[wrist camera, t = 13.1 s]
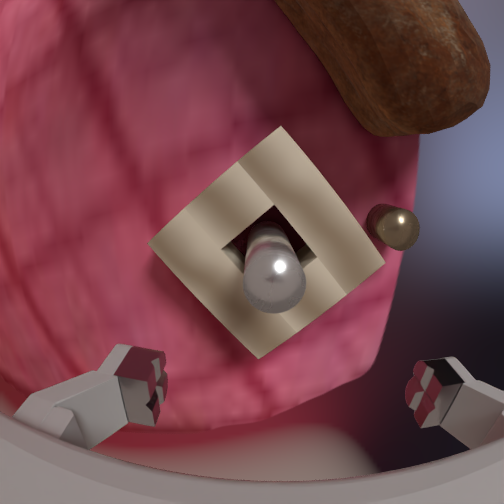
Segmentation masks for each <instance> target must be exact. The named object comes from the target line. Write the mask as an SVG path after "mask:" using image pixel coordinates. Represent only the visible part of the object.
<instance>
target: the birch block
mask: <svg viewBox="0 0 504 504" xmlns="http://www.w3.org/2000/svg"><path fill="white" fill-rule="evenodd" d="M273 205H275V206H276V207H277V208H278V210H279V211H280V212H281V213H282V214H283V216H284V217H285V218H286V219H287V220H288V222H289V223H290V224H291V225H292V226H293V228H294V229H295V230H296V231H297V233H298V234H299V235H300V236H301V237H302V239H303V240H304V241H305V242H306V245H304V246H303V247H302V248H301V249H299V250H298V251H297V252H296V253H295V254H296V256H297V258H298V260H299V262H300V264H301V267H302V269H303V271H304V273H305V276H306V290H305V293H304V295H303V297H302V299H301V300H300V302H299V303H298V304H297V305H296V306H294V307H293V308H292V309H290V310H288V311H285V312H282V313H276V314H272V313H266V312H262V311H260V310H258V309H256V308H255V307H253V306H252V305H251V304H250V303H249V301H248V300H247V298H246V296H245V294H244V291H243V276H244V268H245V259H246V258H245V257H244V256H243V254H242V253H241V252H240V251H239V250H238V249H237V248H236V247H235V245H234V244H233V243H232V242H231V240H233V239H234V238H235V237H236V236H237V235H238V234H240V233H241V232H242V231H243V230H244V229H246V228H247V227H248V226H249V225H250V224H252V223H253V222H254V221H255V220H256V219H257V218H259V217H260V216H261V215H262V214H263V213H265V212H266V211H267V210H268V209H269V208H271V207H272V206H273ZM147 244H148V245H149V246H150V247H151V248H152V249H153V251H154V252H155V253H156V254H157V255H158V256H159V257H160V258H161V260H162V261H163V262H164V263H165V264H166V265H167V266H168V267H169V268H170V269H171V271H172V272H173V273H174V274H175V275H176V276H177V277H178V278H179V279H180V280H181V281H182V282H183V284H184V285H185V286H186V287H187V288H188V289H189V290H190V291H191V292H192V293H193V294H194V295H195V296H196V297H197V298H198V299H199V301H200V302H201V303H202V304H203V305H204V306H205V307H206V308H207V309H208V310H209V311H210V312H211V313H212V314H213V315H214V316H215V317H216V318H217V319H218V320H219V321H220V322H221V323H222V324H223V325H224V326H225V327H226V328H227V329H228V330H229V331H230V332H231V333H232V334H233V335H234V336H235V337H236V338H237V339H238V340H239V341H240V342H241V343H242V344H243V345H244V346H245V347H246V348H247V349H248V350H249V351H250V352H251V353H252V354H253V355H254V356H256V357H257V358H258V359H260V358H261V357H263V356H264V355H266V354H267V353H269V352H270V351H272V350H273V349H274V348H276V347H277V346H279V345H280V344H282V343H283V342H284V341H286V340H287V339H289V338H290V337H291V336H293V335H294V334H296V333H297V332H298V331H300V330H301V329H302V328H304V327H305V326H307V325H308V324H309V323H311V322H312V321H313V320H315V319H316V318H317V317H319V316H320V315H321V314H323V313H324V312H325V311H326V310H328V309H329V308H330V307H332V306H333V305H334V304H336V303H337V302H338V301H339V300H341V299H342V298H343V297H344V296H346V295H347V294H348V293H349V292H351V291H352V290H353V289H354V288H356V287H357V286H358V285H359V284H361V283H362V282H363V281H364V280H366V279H367V278H368V277H369V276H370V275H372V274H373V273H374V272H375V271H376V270H377V269H379V268H380V267H381V266H382V265H383V264H385V261H384V260H383V258H382V257H381V255H380V254H379V252H378V251H377V249H376V248H375V246H374V245H373V243H372V242H371V240H370V239H369V237H368V236H367V235H366V233H365V232H364V230H363V229H362V227H361V226H360V225H359V223H358V222H357V220H356V219H355V218H354V216H353V215H352V214H351V212H350V211H349V210H348V208H347V207H346V205H345V204H344V203H343V201H342V200H341V199H340V197H339V196H338V195H337V194H336V192H335V191H334V190H333V188H332V187H331V186H330V184H329V183H328V182H327V181H326V179H325V178H324V177H323V176H322V174H321V173H320V172H319V170H318V169H317V168H316V167H315V166H314V164H313V163H312V162H311V161H310V159H309V158H308V157H307V156H306V155H305V153H304V152H303V151H302V150H301V148H300V147H299V146H298V145H297V144H296V143H295V141H294V140H293V139H292V138H291V137H290V136H289V134H288V133H287V132H286V131H285V130H284V129H283V128H282V126H280V127H279V128H277V129H276V130H275V131H274V132H272V133H271V134H270V135H269V136H267V137H266V138H265V139H264V140H262V141H261V142H260V143H259V144H258V145H256V146H255V147H254V148H253V149H251V150H250V151H249V152H248V153H247V154H245V155H244V156H243V157H242V158H241V159H239V160H238V161H237V162H236V163H235V164H234V165H232V166H231V167H230V168H229V169H228V170H227V171H225V172H224V173H223V174H222V175H221V176H220V177H218V178H217V179H216V180H215V181H214V182H213V183H212V184H211V185H209V186H208V187H207V188H206V189H205V190H204V191H203V192H202V193H200V194H199V195H198V196H197V197H196V198H195V199H194V200H193V201H192V202H191V203H189V204H188V205H187V206H186V207H185V208H184V209H183V210H182V211H181V212H180V213H179V214H178V215H176V216H175V217H174V218H173V219H172V220H171V221H170V222H169V223H168V224H167V225H166V226H165V227H164V228H163V229H162V230H161V231H160V232H159V233H158V234H156V235H155V236H154V237H153V238H152V239H151V240H150V241H149V242H148V243H147Z"/></svg>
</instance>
